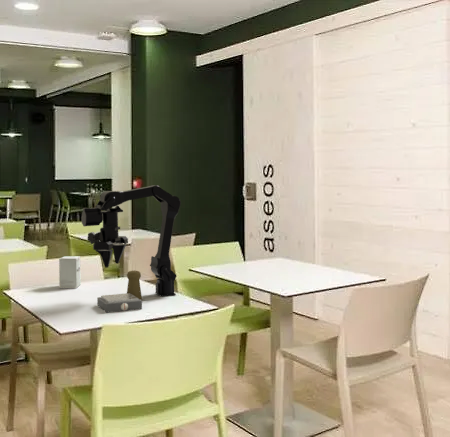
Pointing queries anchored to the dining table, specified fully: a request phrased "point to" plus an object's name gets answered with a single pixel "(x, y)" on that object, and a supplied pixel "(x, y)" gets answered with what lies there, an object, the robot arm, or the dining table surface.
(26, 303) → the dining table surface
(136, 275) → the cork
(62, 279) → the supplement box
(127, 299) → the kitchen scale
